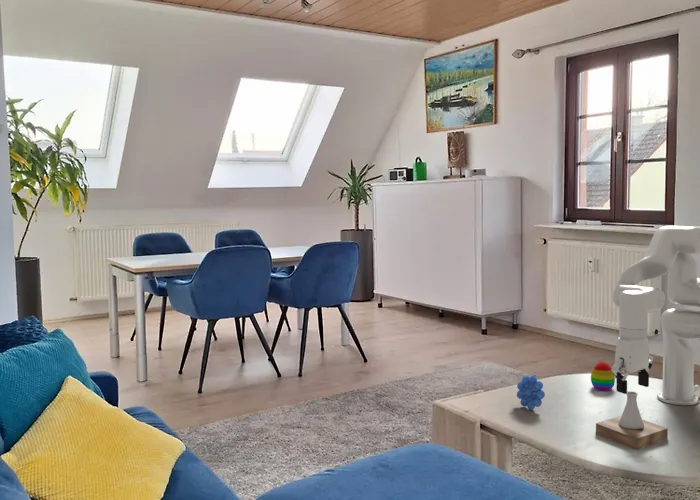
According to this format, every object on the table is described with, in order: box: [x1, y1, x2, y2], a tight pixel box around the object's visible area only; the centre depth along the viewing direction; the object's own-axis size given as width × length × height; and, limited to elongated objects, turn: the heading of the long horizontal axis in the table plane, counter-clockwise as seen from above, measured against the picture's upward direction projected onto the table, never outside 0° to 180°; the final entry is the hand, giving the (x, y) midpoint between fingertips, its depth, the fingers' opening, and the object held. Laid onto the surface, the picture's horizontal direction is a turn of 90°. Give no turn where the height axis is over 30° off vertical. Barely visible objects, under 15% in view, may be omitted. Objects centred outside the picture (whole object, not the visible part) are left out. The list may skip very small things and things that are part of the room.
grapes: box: [516, 375, 546, 411], centre depth 218 cm, size 12×7×12 cm, turn 32°
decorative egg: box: [590, 361, 616, 392], centre depth 237 cm, size 8×8×10 cm
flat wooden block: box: [595, 415, 669, 451], centre depth 194 cm, size 14×14×4 cm
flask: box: [619, 390, 644, 429], centre depth 193 cm, size 7×7×10 cm
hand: (632, 389), depth 193 cm, fingers open, 9 cm apart
